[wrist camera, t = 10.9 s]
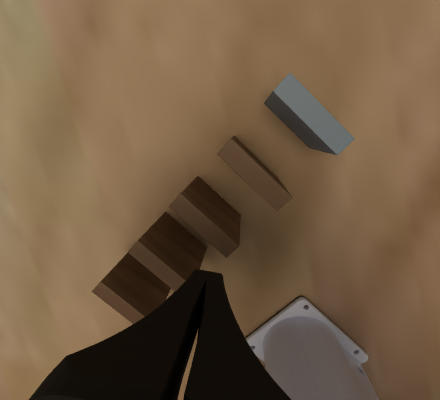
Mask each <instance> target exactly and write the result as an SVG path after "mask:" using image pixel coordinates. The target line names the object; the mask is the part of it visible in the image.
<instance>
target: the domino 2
mask: <svg viewBox="0 0 440 400" xmlns="http://www.w3.org/2000/svg"><path fill="white" fill-rule="evenodd" d="M170 289H171V288H170V287H169V286H168V285H167V284H165V283H164V282H163V281H162V280H161V279H159V278H158V277H157V276H156V275H155V274H153V273H152V272H151V271H150V270H149V269H147V268H146V267H145V266H144V265H143V264H141V263H140V262H139V261H138V260H136V259H135V258H134V257H133V256H132V255H130V254H129V253H127V254H126V255H125V256H124V257H123V258H122V260H121V261H120V262H119V263H118V264H117V265H116V266H115V267H114V268H113V269H112V270H111V271H110V272H109V273H108V274H107V275H106V276H105V278H104V279H103V280H102V281H101V282H100V283H99V284H98V285H97V286H96V287H95V288H94V289H93V291H92V292H93V293H94V294H96V295H97V296H98V297H99V298H101V299H102V300H103V301H105V302H106V303H107V304H108V305H110V306H111V307H112V308H113V309H115V310H116V311H117V312H119V313H120V314H121V315H122V316H124V317H125V318H126V319H127V320H129V321H130V322H131V323H133V324H134V323H136V322H137V321H139V320H141V319H142V318H144V317H145V316H146V315H148V314H149V313H151V312H152V311H153V310H155V309H156V308H157V307H158V306H160V305H161V304H162V303H163V302H164V301H165V300H166V298H167V296H168V293H169V291H170Z"/></svg>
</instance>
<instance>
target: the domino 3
mask: <svg viewBox="0 0 440 400" xmlns="http://www.w3.org/2000/svg"><path fill="white" fill-rule="evenodd" d="M169 208H170V209H172V210H173V211H174V212H175V213H176V214H177V215H178V216H180V217H181V218H182V219H183V220H184V221H185V222H186V223H188V224H189V225H190V226H191V227H192V228H193V229H194V230H195V231H197V232H198V233H199V234H200V235H201V236H202V237H203V238H205V239H206V240H207V241H208V242H209V243H210V244H211V245H213V246H214V247H215V248H216V249H217V250H218V251H219V252H220V253H222V254H223V255H224V256H225V257H226V258H227V257H228V256H229V255H230V254H231V253H232V252H233V251H234V250H235V249H236V248H238V247H239V238H240V214H239V213H238V212H237V211H236V210H234V209H233V208H232V207H231V206H230V205H229V204H228V203H227V202H226V201H225V200H224V199H222V198H221V197H220V196H219V195H218V194H217V193H216V192H215V191H214V190H213V189H212V188H211V187H209V186H208V185H207V184H206V183H205V182H204V181H203V180H202V179H201V178H200V177H199V176H197V177H196V179H195V180H194V181H193V182H192V183H191V184H190V185H189V186H188V187H187V188H186V189H185V190H184V191H183V192H182V193H181V194H180V195H179V196H178V197H177V198H176V199H175V200H174V201H173V202H172V204H171V205H170V206H169Z"/></svg>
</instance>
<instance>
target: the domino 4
mask: <svg viewBox="0 0 440 400" xmlns="http://www.w3.org/2000/svg"><path fill="white" fill-rule="evenodd" d="M217 155H219V156H220V157H221V158H222V159H223V160H224V161H225V162H226V163H227V164H228V165H229V166H230V167H231V168H232V169H233V170H234V171H235V172H237V173H238V174H239V175H240V176H241V177H242V178H243V179H244V180H245V181H246V182H247V183H248V184H249V185H250V186H251V187H252V188H253V189H255V190H256V191H257V192H258V193H259V194H260V195H261V196H262V197H263V198H264V199H265V200H266V201H267V202H268V203H269V204H270V205H272V206H273V207H274V208H275V209H276V210H277V211H278V210H279V209H280V208H281V207H282V206H283V205H285V204H286V203H287V202H288V201H289V200H290V199H291V198H292V196H291V195H290V194H289V192H288V191H287V190H286V188H285V187H284V185H283V184H282V183H281V181H280V180H279V179H278V178H277V177H276V176H275V175H274V174H273V173H272V172H271V171H270V170H269V169H268V168H267V167H266V166H265V165H264V164H263V163H262V162H261V161H260V160H259V159H258V158H257V157H256V156H255V155H254V154H253V153H252V152H250V151H249V150H248V149H247V148H246V147H245V146H244V145H243V144H242V143H241V142H240V141H239V140H238V139H237V138H236V137H235V136H234V137H232V138H231V139H230V140H229V141H228V142H227V143H226V144H225V146H224V147H223V148H222V149H221V150H220V151H219V152H218V153H217Z"/></svg>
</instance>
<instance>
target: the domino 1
mask: <svg viewBox="0 0 440 400" xmlns="http://www.w3.org/2000/svg"><path fill="white" fill-rule="evenodd" d="M205 251H206V247H205V246H204V245H203V244H202V243H201V242H199V241H198V240H197V239H196V238H195V237H194V236H193V235H191V234H190V233H189V232H188V231H187V230H186V229H185V228H183V227H182V226H181V225H180V224H179V223H178V222H177V221H175V220H174V219H173V218H172V217H171V216H170V215H169V214H167V213H166V212H165V213H164V214H163V215H162V216H161V217H160V218H159V219H158V220H157V221H156V222H155V223H154V224H153V225H152V226H151V227H150V228H149V229H148V231H147V232H146V233H145V234H144V235H143V236H142V237H141V238H140V239H139V240H138V241H137V242H136V243H135V244H134V245H133V246H132V248H131V249H130V250H129V251H128V253H129V254H130V255H132V256H133V257H134V258H135V259H136V260H138V261H139V262H140V263H141V264H143V265H144V266H145V267H146V268H147V269H149V270H150V271H151V272H152V273H153V274H155V275H156V276H157V277H158V278H159V279H161V280H162V281H163V282H164V283H165V284H167V285H168V286H169V287H170V288H172V289H173V290H174V291H176V290H177V289H178V288H179V287H180V286H181V285H182V284H183V283H184V282H185V281H186V280H187V278H188V277H189V276H190V275H191V273H192V272H193V271H194V270H195V269H199V270H200V267H201V264H202V260H203V257H204V254H205Z"/></svg>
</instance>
